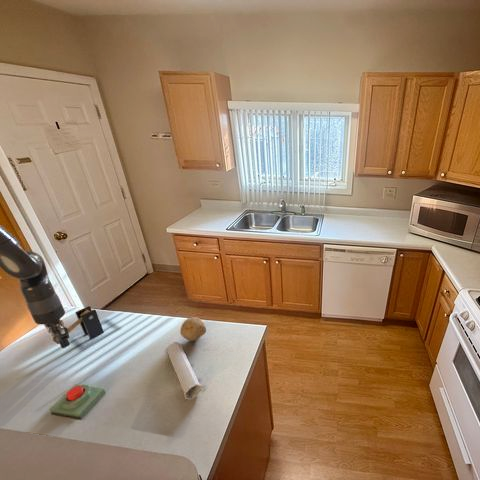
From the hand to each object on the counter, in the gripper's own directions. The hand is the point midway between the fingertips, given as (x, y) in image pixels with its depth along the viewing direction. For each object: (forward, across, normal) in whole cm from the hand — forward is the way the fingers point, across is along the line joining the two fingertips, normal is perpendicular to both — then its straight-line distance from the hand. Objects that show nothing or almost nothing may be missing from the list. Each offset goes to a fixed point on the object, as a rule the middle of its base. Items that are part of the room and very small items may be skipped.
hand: (63, 344), depth 94 cm
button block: (+4, +27, -7) cm, 28 cm away
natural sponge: (+4, +34, +28) cm, 45 cm away
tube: (+4, +44, +16) cm, 47 cm away
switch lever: (-4, 0, +5) cm, 6 cm away
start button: (0, +27, -7) cm, 28 cm away
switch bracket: (+4, 0, +9) cm, 10 cm away
